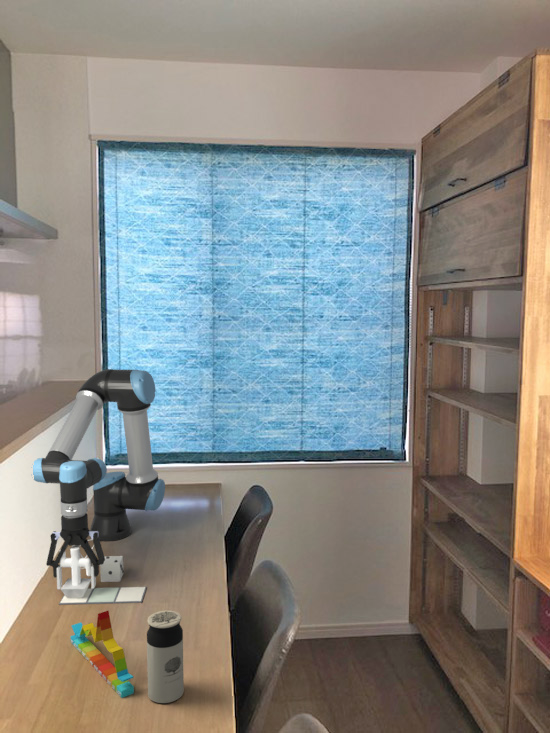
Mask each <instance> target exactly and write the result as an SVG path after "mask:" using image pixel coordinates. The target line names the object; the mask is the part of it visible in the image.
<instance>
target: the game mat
mask: <svg viewBox="0 0 550 733" xmlns="http://www.w3.org/2000/svg"><path fill="white" fill-rule="evenodd" d="M146 592H147V586H123V587H120V586H119V587H118V586H116V587H114V586H113V587H94V588H91V587H88V589H87V591H86V593H85V595H84V596H83V598H82V599H67V597H66V596H65V595H64V594H63V595H62V597H61V600H60V601H59V603H58V605H59V606H60V605H63V606H65V605H95V604H96V605H101V604H104V605H105V604H106V605H107V604H138V603H139V604H142V603H143V600H144V597H145V594H146Z"/></svg>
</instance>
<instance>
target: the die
mask: <svg viewBox="0 0 550 733" xmlns="http://www.w3.org/2000/svg"><path fill="white" fill-rule="evenodd" d="M104 557H105V561H104V563H103V564H102V565H99V571H100V582H101V583H108V582H109V583H111V582H113V583H114V582H116V583H117V582H121V580H122V578H123V575H124V573H125V572H124V571H125V570H124V556H123V555H109V556H108V555H107V556H105V555H104Z"/></svg>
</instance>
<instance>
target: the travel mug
mask: <svg viewBox="0 0 550 733" xmlns="http://www.w3.org/2000/svg"><path fill="white" fill-rule="evenodd" d="M181 621H182V615H181V614H180V613H179V612H178V611H174V610H169V609H168V610H159V611H156V612H154V613H152V614H150V615H149V616H148V617H147V624H148V626H149V628H148V629H147V631H146V656H147V657H146V660H147V661H146V663H147V664H146V665H147V697H148V698H149V699H150V700H151V701H153V702H154V703H159V704H168V703H169V704H170V703H172V702H175V701H176V700H179V699H180V698H182V696H183V695H184V690H185V689H184V686H185V685H184V680H185V679H184V630H183V628H182V626H181Z"/></svg>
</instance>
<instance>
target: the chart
mask: <svg viewBox="0 0 550 733" xmlns="http://www.w3.org/2000/svg"><path fill="white" fill-rule="evenodd" d="M96 619H97V620H96V621H97V622H96V626H94V623H93V622H91V623H89V622H88V623H87V624H83V623H82V622H78V623H75V624H71V628H72V632H73V633H74V634H73V635H70V643H71V644H72V645H73V646H74V647H75V649H76V650H77V651H78V652H79V653H80V654H81V655H82V656H83V657H84V658H85V660H87V661H88V663H89V664H90V665H91V667H93V668H94V669H95V671H96V672H98V674H99V675H100V676H101V677H102V679H104V681H105V682H106V683H107V684H108V685H109V686H110V687H111V689H113V691H115V693H117V694H118V696H119V697H120V698H122V699H123V698H125V697H127V696H128V697H129V696H130V695H133V694H135V687H134V685H133V683H131V682H130V681H129V680H131V679H133V678H134V676H133V675H132V674H131V673H129V670H128V665H127V661H126V657H125V652H124V651H125V650H124V648H123V647H121V646H120V645H119V644H118V643H117V641H116V639H115V638H114V633H113V628H112V623H111V618H110V612H109V610H106V611H102V612H99V613H97V618H96ZM91 636H92V638H93V642H94V643H99V642H102V643H103V645H104V647H105V648H106V650H107V651H108V652H109V653H110V654H112V658H113V664H114V665H113V664H112V663H111V661H109V659H108V658H107V657H106V656H105V655H104V654H103V653H102V652H101V651H100V650H99V649H98V648H97V647H96V646H95V645H94V644H93V643H92V642H91V641H90V640H89V638H87V637H91Z"/></svg>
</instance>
